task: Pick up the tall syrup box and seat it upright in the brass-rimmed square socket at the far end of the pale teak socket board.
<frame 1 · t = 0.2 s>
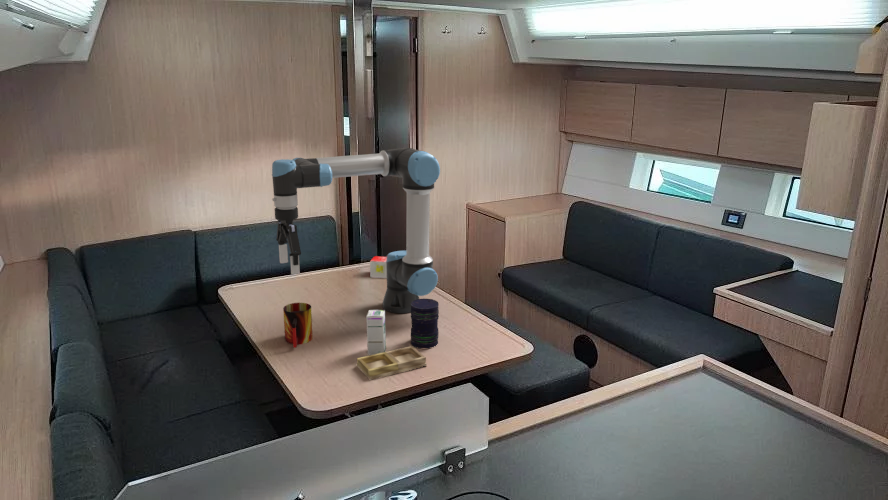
hand: (289, 268, 220), 28 cm above the table, fingers open, 13 cm apart
storage jar: (424, 343, 229), on the table
mug: (300, 341, 229), on the table
socket board: (391, 366, 212), on the table
syrup box: (376, 352, 222), on the table
puzzle cube: (381, 275, 300), on the table
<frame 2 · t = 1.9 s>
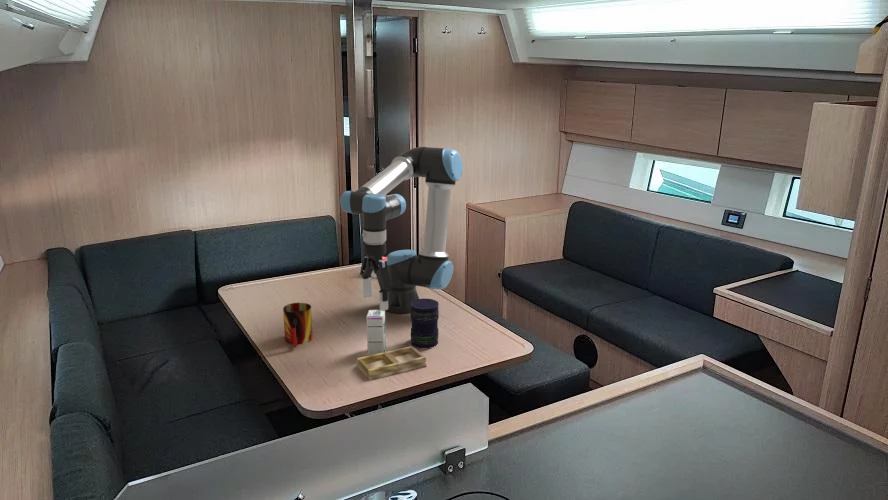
hand: (375, 303, 216), 18 cm above the table, fingers open, 13 cm apart
nothing on the table moved.
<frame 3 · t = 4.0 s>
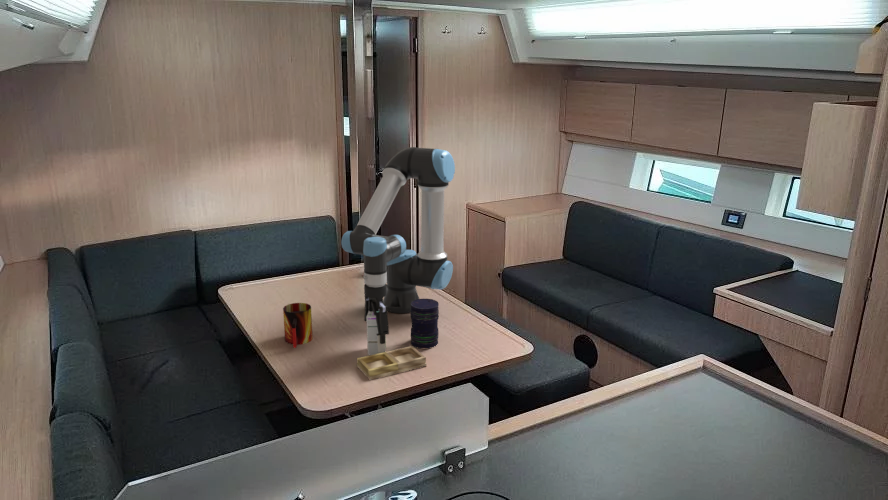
hand: (376, 346, 221), 2 cm above the table, fingers closed on syrup box, 7 cm apart
syrup box: (376, 352, 222), on the table, touching gripper
everything else where it was.
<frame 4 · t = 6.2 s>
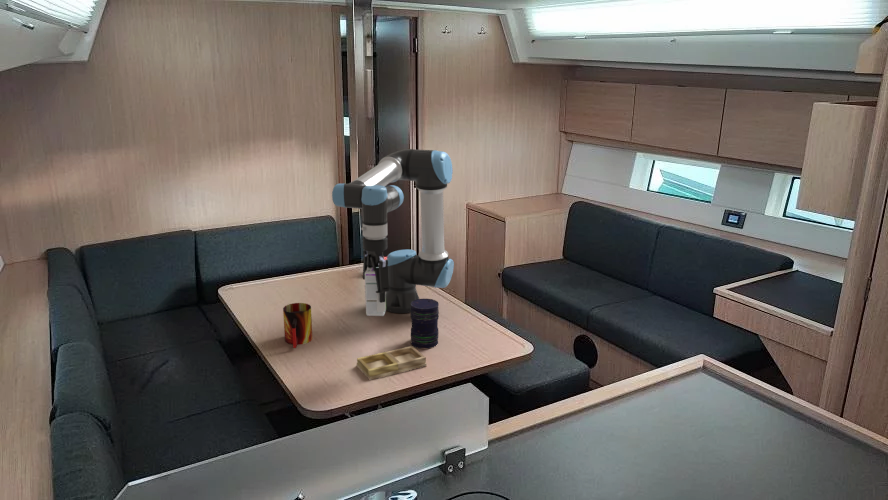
hand: (375, 306, 203), 22 cm above the table, fingers closed on syrup box, 7 cm apart
syrup box: (375, 313, 204), point 19 cm above the table, touching gripper
everything else where it was.
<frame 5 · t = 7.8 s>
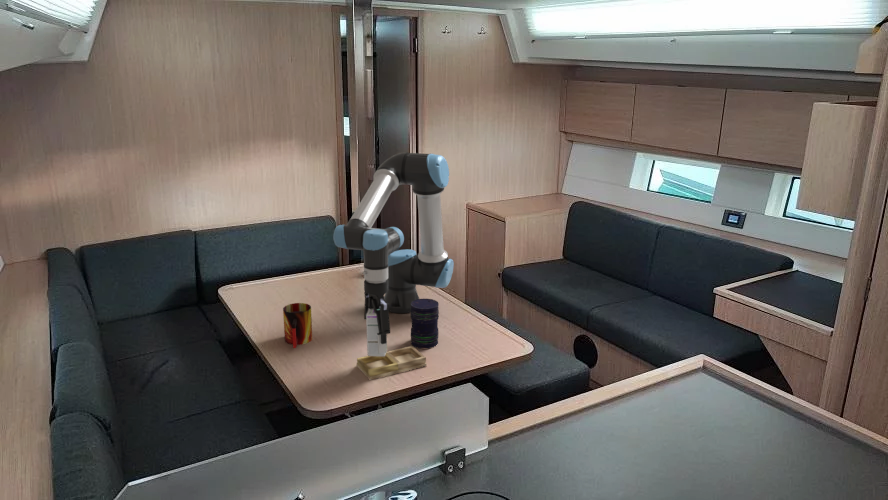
hand: (377, 347, 207), 8 cm above the table, fingers closed on syrup box, 7 cm apart
syrup box: (377, 353, 207), point 6 cm above the table, touching gripper
everything else where it was.
when the fingers open (4 cm above the table, at t = 8.9 s): syrup box drops 1 cm, resting on socket board.
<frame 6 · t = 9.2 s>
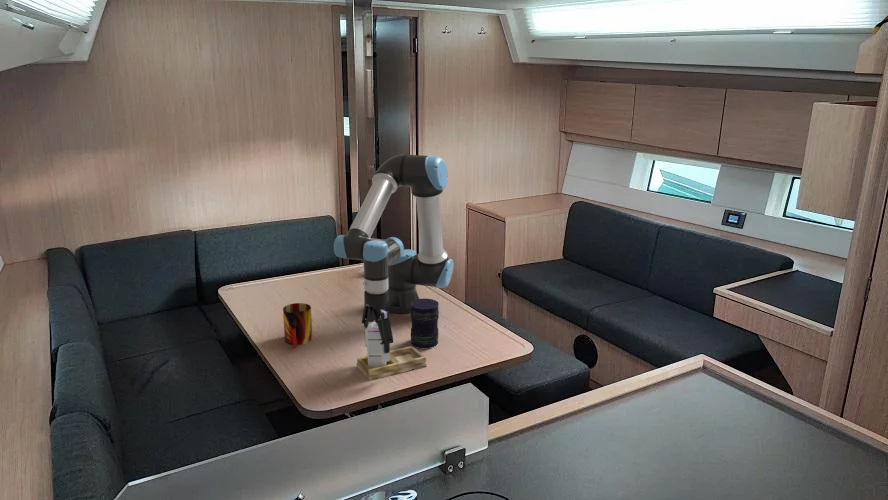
hand: (377, 353, 208), 6 cm above the table, fingers open, 12 cm apart
syrup box: (377, 366, 209), point 1 cm above the table, touching socket board
everything else where it was.
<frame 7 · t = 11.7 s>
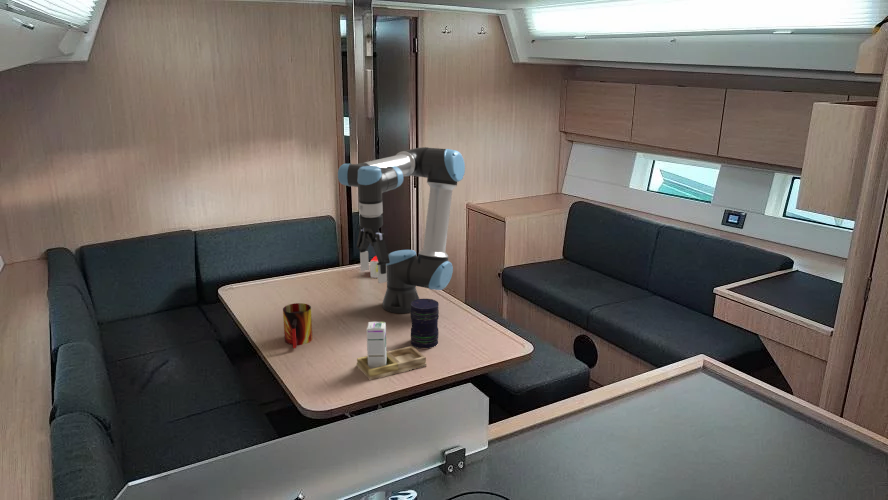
hand: (373, 276, 216), 27 cm above the table, fingers open, 13 cm apart
nothing on the table moved.
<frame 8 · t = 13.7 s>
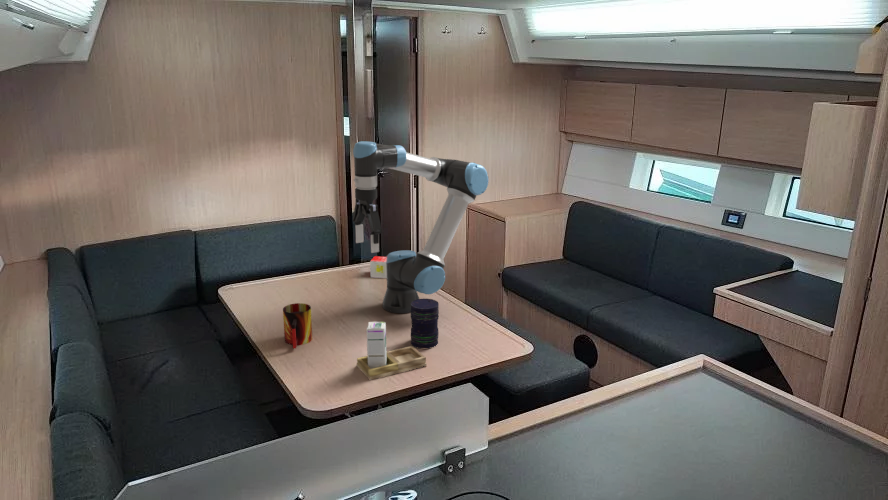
hand: (367, 247, 227), 33 cm above the table, fingers open, 13 cm apart
nothing on the table moved.
at the end: syrup box 0.3 cm from the target spot on the socket board, point 0.8 cm above the socket board's base; syrup box tilted 0°; the gripper is holding nothing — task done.
